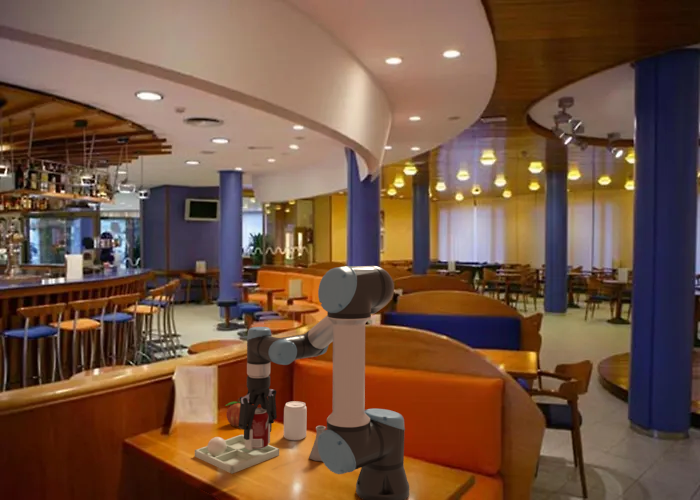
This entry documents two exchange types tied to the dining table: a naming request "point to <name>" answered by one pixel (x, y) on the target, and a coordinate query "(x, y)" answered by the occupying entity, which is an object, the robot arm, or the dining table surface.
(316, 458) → the flask
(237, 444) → the caddy
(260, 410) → the soda can
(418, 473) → the dining table surface
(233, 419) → the fruit
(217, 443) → the ceramic egg
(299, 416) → the beverage can
